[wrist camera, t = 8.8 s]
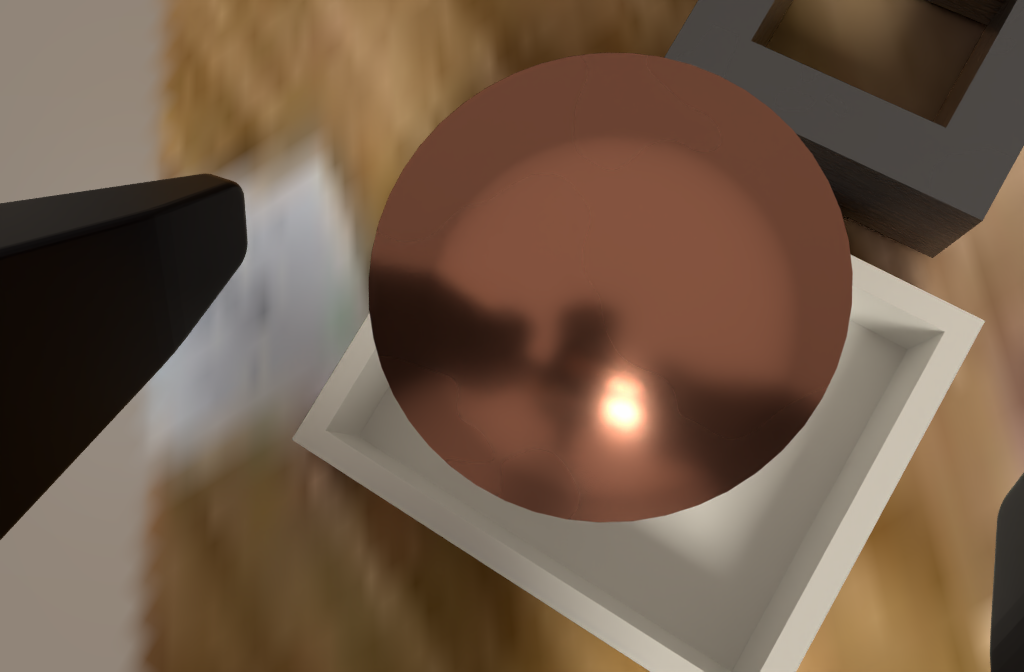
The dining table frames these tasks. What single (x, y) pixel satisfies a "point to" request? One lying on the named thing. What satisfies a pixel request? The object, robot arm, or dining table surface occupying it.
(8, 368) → the robot arm
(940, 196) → the dark grey square socket
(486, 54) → the dining table surface
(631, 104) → the pin
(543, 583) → the tray
